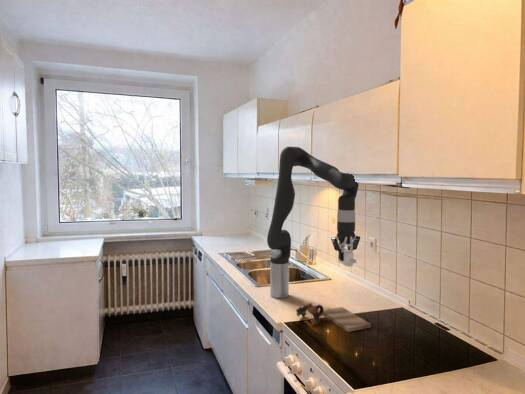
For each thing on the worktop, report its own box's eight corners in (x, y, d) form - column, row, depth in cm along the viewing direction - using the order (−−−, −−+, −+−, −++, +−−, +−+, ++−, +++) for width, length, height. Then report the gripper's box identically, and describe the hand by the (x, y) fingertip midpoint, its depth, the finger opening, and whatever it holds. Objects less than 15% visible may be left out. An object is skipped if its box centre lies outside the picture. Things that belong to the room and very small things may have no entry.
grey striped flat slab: (321, 313, 167) (321, 310, 167) (341, 310, 171) (341, 307, 171) (348, 331, 149) (348, 328, 149) (370, 327, 153) (370, 323, 153)
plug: (336, 260, 165) (336, 248, 164) (342, 259, 167) (343, 247, 166) (350, 268, 156) (351, 255, 155) (357, 267, 157) (358, 255, 156)
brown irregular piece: (307, 328, 153) (298, 309, 155) (299, 330, 161) (290, 311, 163) (331, 316, 158) (322, 297, 160) (321, 318, 166) (313, 300, 168)
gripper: (354, 218, 166) (353, 256, 168) (327, 219, 161) (326, 259, 162) (365, 220, 160) (364, 260, 161) (337, 222, 154) (336, 263, 155)
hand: (345, 259), depth 162 cm, fingers closed on plug, 3 cm apart
